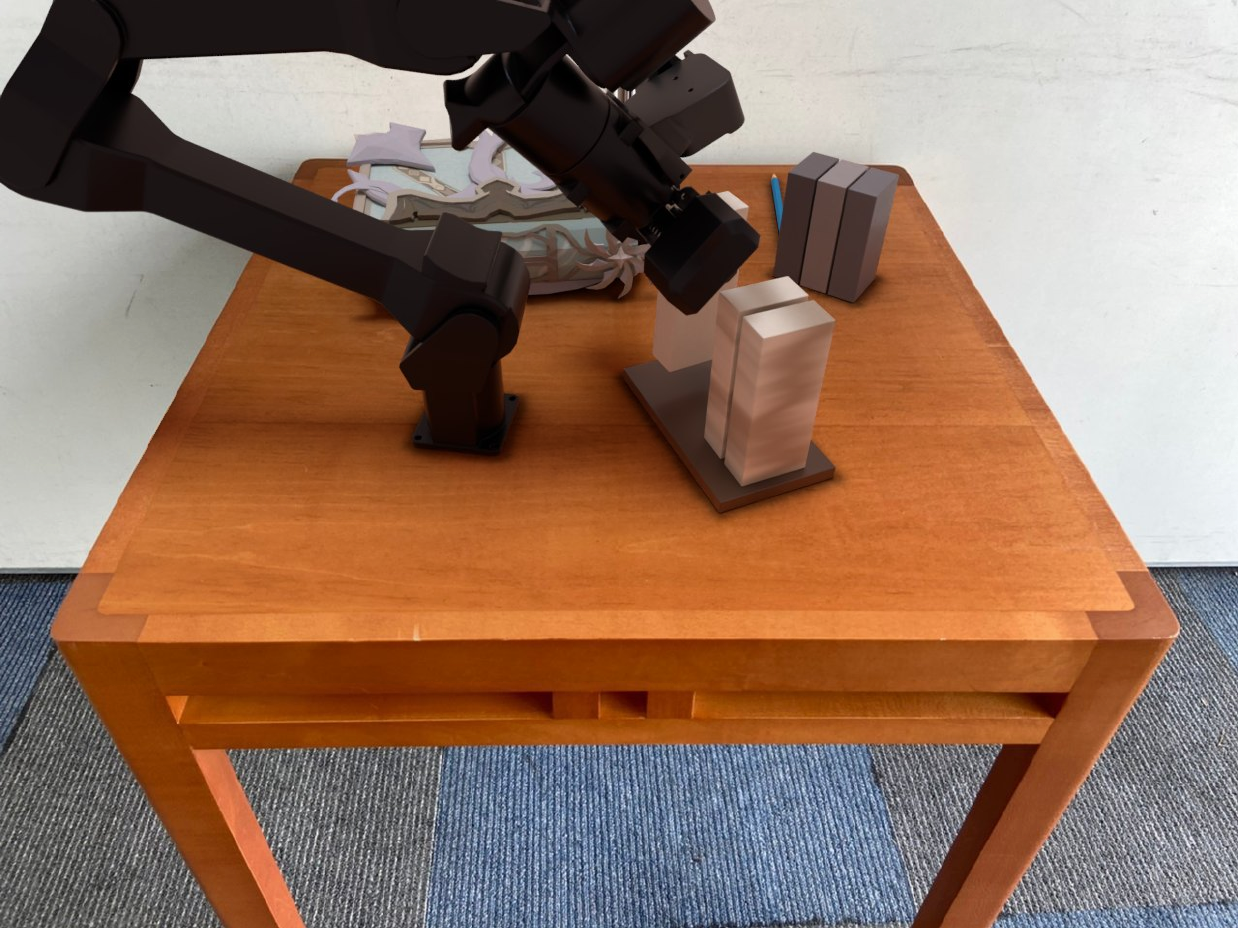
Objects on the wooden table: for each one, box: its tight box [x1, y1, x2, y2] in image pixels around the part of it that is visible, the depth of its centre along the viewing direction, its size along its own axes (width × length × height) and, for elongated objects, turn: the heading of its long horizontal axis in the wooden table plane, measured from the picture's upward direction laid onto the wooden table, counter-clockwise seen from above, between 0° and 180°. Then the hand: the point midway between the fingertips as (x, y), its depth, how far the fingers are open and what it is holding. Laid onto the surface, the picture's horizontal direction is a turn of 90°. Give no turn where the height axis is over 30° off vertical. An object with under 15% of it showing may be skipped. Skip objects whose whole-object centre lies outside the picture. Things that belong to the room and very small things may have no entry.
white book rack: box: [622, 276, 837, 514], centre depth 62 cm, size 9×16×13 cm, turn 23°
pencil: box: [770, 173, 784, 233], centre depth 91 cm, size 1×17×1 cm, turn 177°
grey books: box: [772, 151, 900, 304], centre depth 79 cm, size 5×8×10 cm, turn 56°
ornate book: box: [330, 122, 653, 299], centre depth 83 cm, size 23×10×30 cm
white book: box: [652, 190, 750, 372], centre depth 63 cm, size 5×2×12 cm, turn 119°
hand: (721, 266), depth 63 cm, fingers closed on white book, 3 cm apart
